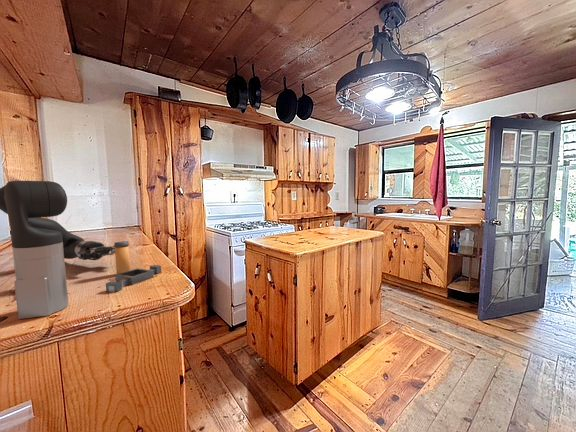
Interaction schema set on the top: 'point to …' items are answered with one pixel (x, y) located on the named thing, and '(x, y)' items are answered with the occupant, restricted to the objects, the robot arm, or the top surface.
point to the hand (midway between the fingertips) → (111, 253)
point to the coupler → (122, 256)
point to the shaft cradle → (132, 278)
